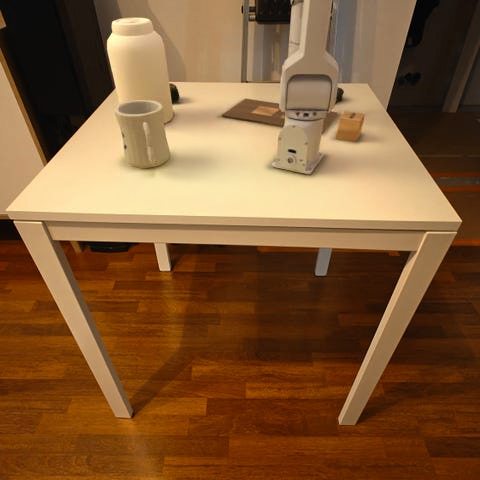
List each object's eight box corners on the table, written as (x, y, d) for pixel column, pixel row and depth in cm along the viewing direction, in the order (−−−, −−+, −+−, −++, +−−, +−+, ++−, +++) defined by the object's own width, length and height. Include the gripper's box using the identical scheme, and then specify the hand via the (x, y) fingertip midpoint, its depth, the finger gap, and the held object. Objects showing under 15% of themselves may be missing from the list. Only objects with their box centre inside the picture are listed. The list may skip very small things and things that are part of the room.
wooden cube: (355, 142, 79) (360, 120, 76) (335, 138, 81) (339, 116, 77) (360, 134, 82) (365, 113, 79) (341, 131, 84) (345, 110, 80)
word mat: (321, 133, 83) (321, 131, 82) (221, 116, 91) (221, 114, 90) (337, 114, 91) (337, 111, 91) (245, 100, 100) (245, 98, 99)
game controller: (306, 91, 102) (321, 72, 100) (315, 104, 105) (330, 86, 104) (326, 101, 95) (342, 81, 94) (335, 114, 99) (351, 95, 97)
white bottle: (136, 132, 84) (114, 27, 70) (115, 117, 91) (91, 18, 77) (183, 120, 89) (171, 20, 75) (159, 107, 96) (145, 13, 82)
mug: (123, 153, 76) (110, 102, 69) (165, 147, 78) (157, 96, 71) (132, 180, 68) (119, 125, 60) (179, 172, 70) (172, 118, 63)
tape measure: (155, 106, 97) (152, 90, 94) (153, 98, 102) (151, 83, 99) (180, 104, 98) (178, 88, 95) (177, 96, 103) (176, 81, 100)
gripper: (309, 50, 73) (301, 120, 82) (329, 37, 82) (320, 101, 92) (276, 47, 75) (273, 115, 85) (299, 34, 84) (294, 97, 94)
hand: (295, 108), depth 88 cm, fingers closed on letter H, 4 cm apart
